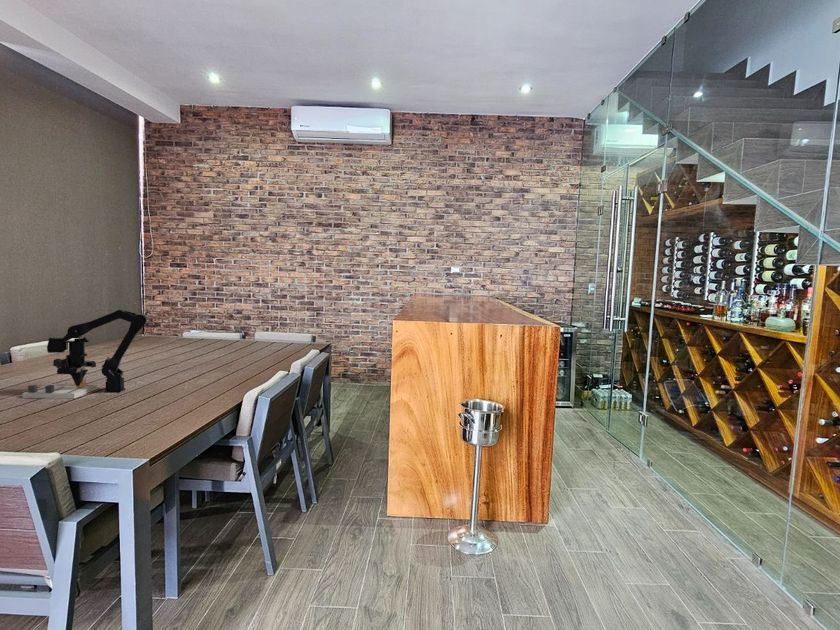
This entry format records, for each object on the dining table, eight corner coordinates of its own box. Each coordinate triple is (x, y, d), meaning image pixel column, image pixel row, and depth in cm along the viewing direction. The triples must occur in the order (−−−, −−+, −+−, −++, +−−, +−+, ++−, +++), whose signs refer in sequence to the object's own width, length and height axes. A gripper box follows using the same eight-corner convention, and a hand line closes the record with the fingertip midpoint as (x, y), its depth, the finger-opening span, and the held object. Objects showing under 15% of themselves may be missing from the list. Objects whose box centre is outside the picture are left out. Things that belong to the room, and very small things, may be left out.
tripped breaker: (85, 386, 213) (85, 378, 212) (83, 387, 211) (82, 379, 210) (78, 386, 212) (78, 378, 212) (76, 387, 210) (75, 379, 210)
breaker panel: (97, 388, 218) (97, 378, 218) (74, 398, 202) (74, 387, 201) (49, 388, 216) (49, 377, 216) (22, 397, 199) (22, 386, 199)
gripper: (71, 348, 216) (71, 381, 217) (43, 355, 198) (44, 390, 199) (96, 349, 218) (96, 381, 219) (71, 355, 199) (71, 390, 200)
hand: (77, 385), depth 209 cm, fingers closed
